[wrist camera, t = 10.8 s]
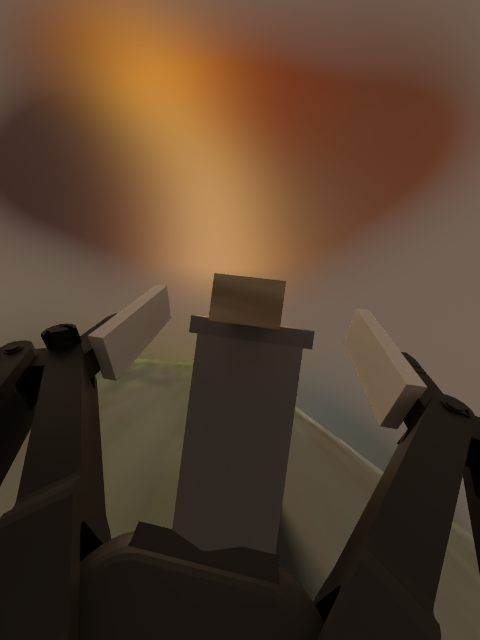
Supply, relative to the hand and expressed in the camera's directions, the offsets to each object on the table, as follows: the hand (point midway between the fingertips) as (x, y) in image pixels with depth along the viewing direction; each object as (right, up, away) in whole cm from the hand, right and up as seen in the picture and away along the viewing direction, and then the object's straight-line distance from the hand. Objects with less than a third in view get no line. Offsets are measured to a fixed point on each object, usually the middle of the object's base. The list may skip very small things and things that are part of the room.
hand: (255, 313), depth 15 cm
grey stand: (-3, -31, +18) cm, 36 cm away
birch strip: (0, -1, +12) cm, 12 cm away
